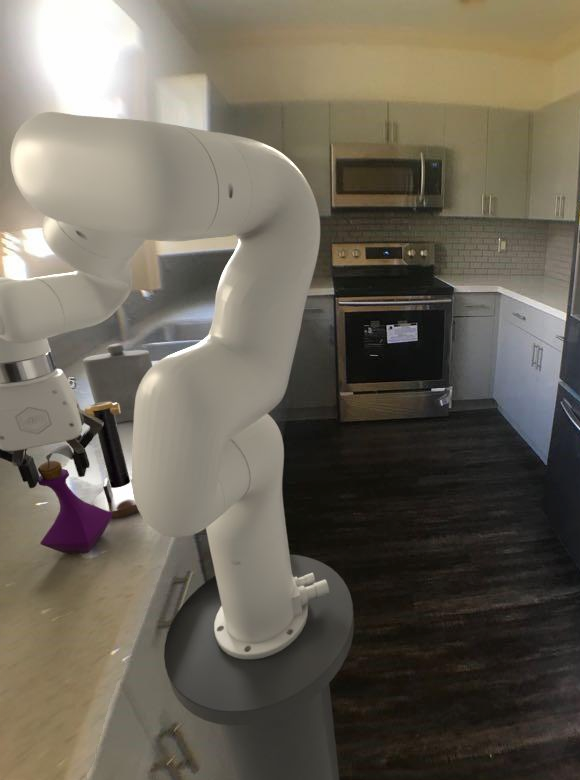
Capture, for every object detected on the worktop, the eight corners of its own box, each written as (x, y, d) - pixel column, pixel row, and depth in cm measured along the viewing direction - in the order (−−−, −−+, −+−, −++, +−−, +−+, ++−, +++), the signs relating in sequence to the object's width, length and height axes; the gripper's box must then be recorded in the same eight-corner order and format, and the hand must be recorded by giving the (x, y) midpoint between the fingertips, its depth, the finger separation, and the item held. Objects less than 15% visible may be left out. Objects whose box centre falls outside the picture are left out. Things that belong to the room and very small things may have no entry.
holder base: (154, 508, 84) (148, 485, 82) (92, 524, 80) (84, 501, 78) (154, 481, 92) (149, 459, 91) (97, 495, 89) (90, 472, 87)
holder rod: (136, 477, 87) (135, 483, 84) (105, 485, 85) (103, 491, 82) (118, 399, 84) (116, 402, 81) (85, 405, 82) (82, 408, 79)
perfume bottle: (44, 560, 72) (11, 460, 65) (73, 529, 79) (46, 436, 72) (93, 559, 72) (64, 459, 66) (117, 528, 79) (94, 435, 73)
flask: (164, 408, 127) (148, 338, 119) (162, 417, 121) (145, 344, 114) (103, 417, 122) (83, 345, 115) (98, 426, 117) (77, 352, 110)
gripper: (-68, 387, 58) (-18, 507, 64) (90, 365, 64) (120, 475, 71) (-46, 370, 64) (-3, 480, 71) (95, 351, 71) (123, 453, 77)
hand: (59, 476), depth 71 cm, fingers closed on perfume bottle, 5 cm apart
